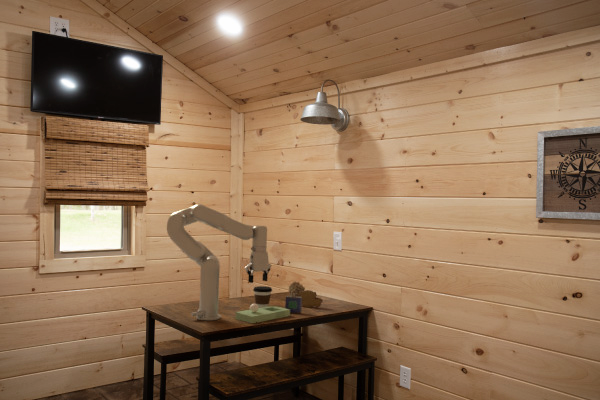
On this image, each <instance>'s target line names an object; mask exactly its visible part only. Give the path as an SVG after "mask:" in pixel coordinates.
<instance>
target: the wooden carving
mask: <svg viewBox="0 0 600 400" xmlns="http://www.w3.org/2000/svg"><path fill="white" fill-rule="evenodd" d="M299 296H300V297H302V307H304V308H310V309H311V308H314V307H315V308H320V307H321V305H322V303H323V302H324V300H323V299H322V298H320V297H317V296H318V295H317V293H316V291H313V290H309V289H307V290H304V291H300V293H299Z"/></svg>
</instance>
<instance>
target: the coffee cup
mask: <svg viewBox="0 0 600 400" xmlns="http://www.w3.org/2000/svg"><path fill="white" fill-rule="evenodd" d="M252 291H253V292H254V304H257V305H258V307H259V308H262V307H268V306H270V305H269V304H270V302H271V294H272V293H271V292H273V289H272V287H271V286H262V285H261V286H260V285H259V286H255V287H253V290H252Z"/></svg>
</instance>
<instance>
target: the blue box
mask: <svg viewBox="0 0 600 400" xmlns="http://www.w3.org/2000/svg"><path fill="white" fill-rule="evenodd" d="M284 304H285V305H284V308H285V309H289V310H290V314H302V308H303V306H302V297H297V296H296V297H295V294H293V295H291V294H290V295H286V296H285V303H284Z"/></svg>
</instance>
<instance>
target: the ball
mask: <svg viewBox="0 0 600 400" xmlns="http://www.w3.org/2000/svg"><path fill="white" fill-rule="evenodd" d="M258 309H259V307H258V305H257V304H256V303H251V304H250V306H249V310H250V311H251V312H253V313H255V312H257V311H258Z"/></svg>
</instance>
